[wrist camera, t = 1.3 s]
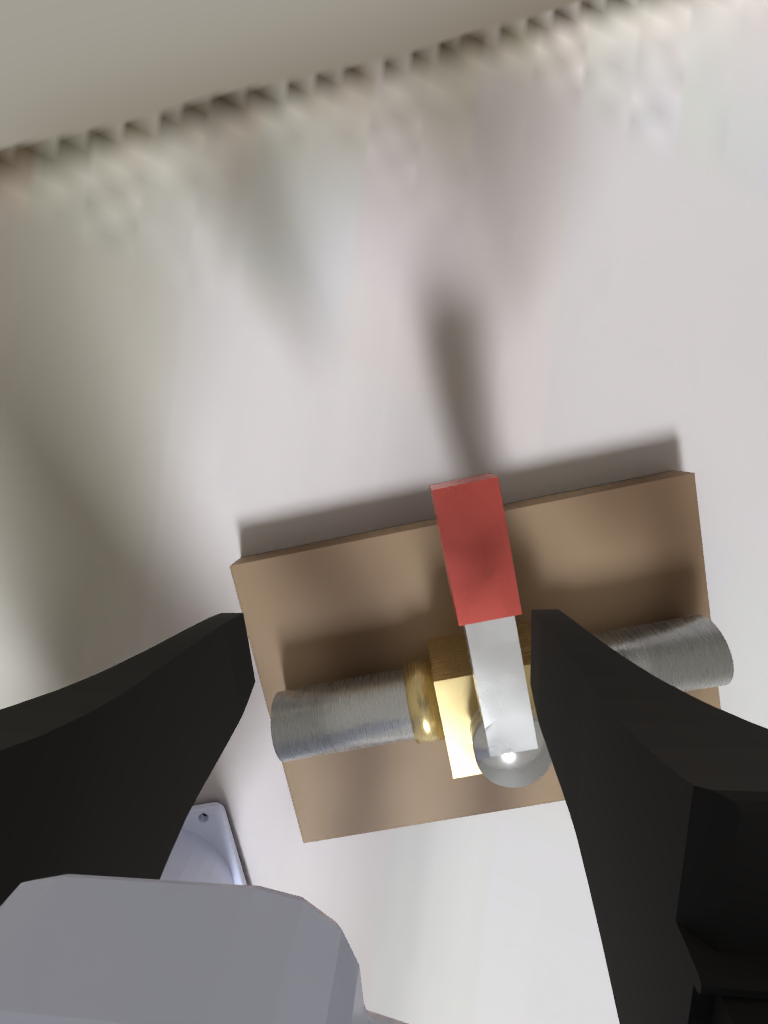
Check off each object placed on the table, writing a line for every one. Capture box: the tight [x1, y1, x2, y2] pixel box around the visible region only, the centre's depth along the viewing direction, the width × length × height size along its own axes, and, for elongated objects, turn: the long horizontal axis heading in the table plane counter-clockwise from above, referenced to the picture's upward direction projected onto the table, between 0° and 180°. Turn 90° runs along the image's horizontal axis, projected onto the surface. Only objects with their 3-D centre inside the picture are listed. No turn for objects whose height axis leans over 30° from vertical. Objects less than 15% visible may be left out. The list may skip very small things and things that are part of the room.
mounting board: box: [230, 470, 721, 843], centre depth 22 cm, size 20×14×2 cm
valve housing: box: [271, 614, 734, 778], centre depth 20 cm, size 18×4×4 cm, turn 102°
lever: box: [429, 473, 552, 788], centre depth 16 cm, size 10×3×2 cm, turn 12°
